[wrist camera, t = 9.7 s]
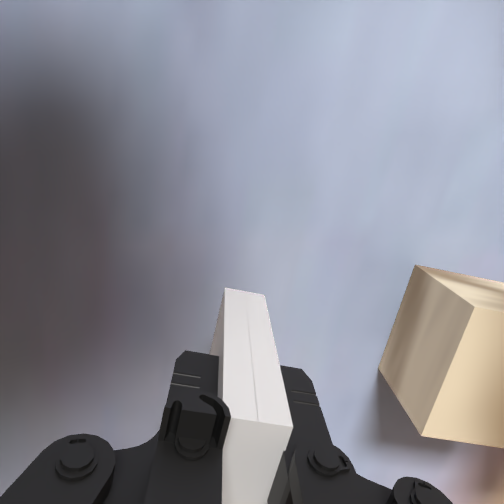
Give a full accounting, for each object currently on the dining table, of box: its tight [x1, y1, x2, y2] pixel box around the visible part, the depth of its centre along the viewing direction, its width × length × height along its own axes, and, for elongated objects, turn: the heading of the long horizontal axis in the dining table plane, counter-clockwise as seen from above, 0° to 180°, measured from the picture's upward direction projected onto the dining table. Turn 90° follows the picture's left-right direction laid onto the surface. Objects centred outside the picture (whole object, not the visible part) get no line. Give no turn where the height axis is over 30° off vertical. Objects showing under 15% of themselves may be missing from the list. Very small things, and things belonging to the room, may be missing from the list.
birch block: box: [378, 265, 504, 448], centre depth 18 cm, size 6×6×5 cm
